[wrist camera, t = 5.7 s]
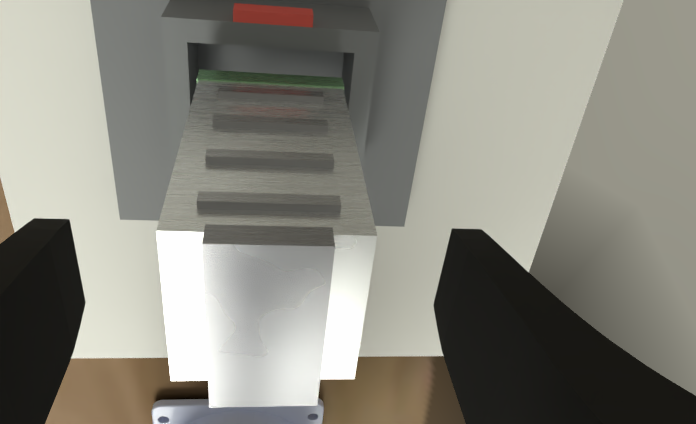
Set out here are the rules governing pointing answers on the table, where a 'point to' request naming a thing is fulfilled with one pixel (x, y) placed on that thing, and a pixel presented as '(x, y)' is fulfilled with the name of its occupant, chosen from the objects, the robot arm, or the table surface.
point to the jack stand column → (265, 240)
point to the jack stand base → (365, 114)
